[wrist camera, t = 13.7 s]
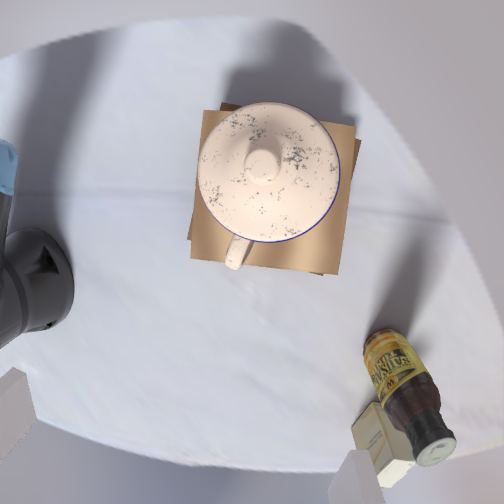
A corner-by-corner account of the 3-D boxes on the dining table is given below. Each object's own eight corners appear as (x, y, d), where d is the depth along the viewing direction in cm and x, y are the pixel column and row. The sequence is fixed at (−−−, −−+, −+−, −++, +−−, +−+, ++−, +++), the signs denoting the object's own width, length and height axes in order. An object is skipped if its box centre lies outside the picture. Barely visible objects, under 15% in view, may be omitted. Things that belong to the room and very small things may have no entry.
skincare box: (371, 399, 41) (394, 457, 29) (394, 406, 41) (420, 460, 29) (349, 429, 42) (364, 487, 31) (372, 434, 43) (390, 489, 31)
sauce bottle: (382, 317, 38) (452, 412, 19) (412, 340, 39) (483, 432, 20) (349, 355, 40) (393, 465, 20) (380, 375, 40) (431, 479, 21)
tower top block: (199, 250, 34) (190, 258, 31) (211, 118, 32) (203, 110, 28) (330, 264, 34) (337, 274, 30) (346, 132, 31) (355, 126, 27)
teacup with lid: (252, 116, 28) (219, 65, 16) (345, 155, 27) (372, 124, 15) (200, 235, 30) (140, 254, 19) (290, 277, 29) (281, 323, 18)
